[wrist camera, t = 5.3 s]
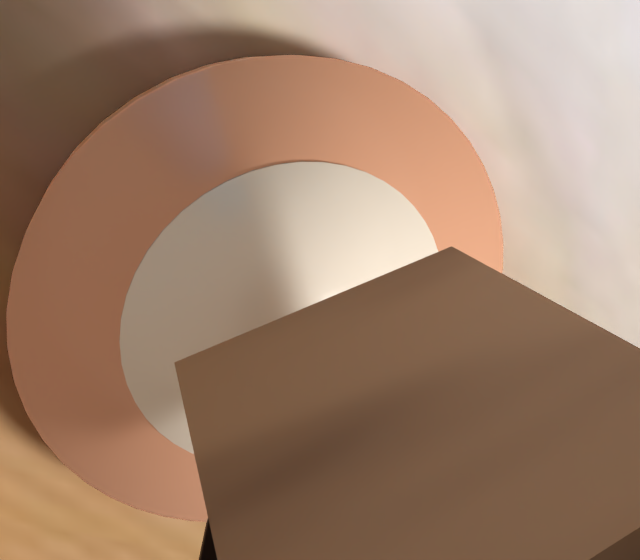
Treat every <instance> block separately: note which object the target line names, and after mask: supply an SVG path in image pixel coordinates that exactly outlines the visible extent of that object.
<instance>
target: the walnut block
mask: <svg viewBox="0 0 640 560" xmlns="http://www.w3.org/2000/svg"><path fill="white" fill-rule="evenodd" d="M174 364H175V369H176V373H177V378H178V382H179V387H180V391H181V396H182V401H183V405H184V410H185V414H186V419H187V423H188V428H189V432H190V437H191V442H192V446H193V451H194V455H195V460H196V464H197V469H198V474H199V478H200V483H201V487H202V492H203V496H204V501H205V505H206V510H207V515H208V519H209V524H210V528H211V533H212V537H213V542H214V547H215V551H216V556H217V560H640V348H638V347H636V346H634V345H632V344H630V343H629V342H627V341H625V340H623V339H621V338H619V337H618V336H616V335H614V334H612V333H610V332H608V331H607V330H605V329H603V328H601V327H599V326H597V325H596V324H594V323H592V322H590V321H588V320H586V319H585V318H583V317H581V316H579V315H577V314H575V313H573V312H572V311H570V310H568V309H566V308H564V307H562V306H561V305H559V304H557V303H555V302H553V301H551V300H550V299H548V298H546V297H544V296H542V295H540V294H539V293H537V292H535V291H533V290H531V289H529V288H528V287H526V286H524V285H522V284H520V283H518V282H517V281H515V280H513V279H511V278H509V277H507V276H505V275H504V274H502V273H500V272H498V271H496V270H494V269H493V268H491V267H489V266H487V265H485V264H483V263H482V262H480V261H478V260H476V259H474V258H472V257H471V256H469V255H467V254H465V253H463V252H461V251H460V250H458V249H456V248H454V247H452V246H451V247H449V248H446V249H444V250H441V251H439V252H437V253H434V254H432V255H429V256H427V257H425V258H422V259H420V260H418V261H415V262H413V263H410V264H408V265H406V266H403V267H401V268H398V269H396V270H394V271H391V272H389V273H387V274H384V275H382V276H379V277H377V278H375V279H372V280H370V281H367V282H365V283H363V284H360V285H358V286H355V287H353V288H351V289H348V290H346V291H344V292H341V293H339V294H336V295H334V296H332V297H329V298H327V299H324V300H322V301H320V302H317V303H315V304H313V305H310V306H308V307H305V308H303V309H301V310H298V311H296V312H293V313H291V314H289V315H286V316H284V317H282V318H279V319H277V320H274V321H272V322H270V323H267V324H265V325H262V326H260V327H258V328H255V329H253V330H250V331H248V332H246V333H243V334H241V335H239V336H236V337H234V338H231V339H229V340H227V341H224V342H222V343H219V344H217V345H215V346H212V347H210V348H208V349H205V350H203V351H200V352H198V353H196V354H193V355H191V356H188V357H186V358H184V359H181V360H179V361H176V362H174Z"/></svg>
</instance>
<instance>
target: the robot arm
mask: <svg viewBox="0 0 640 560" xmlns="http://www.w3.org/2000/svg"><path fill="white" fill-rule="evenodd" d="M199 560H217V556H216V551H215V547H214V542H213V537H212V533H211V528H210V524H209V519H207V523H206V528H205V532H204V537H203V542H202V547H201V552H200V556H199Z"/></svg>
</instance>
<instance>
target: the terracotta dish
mask: <svg viewBox="0 0 640 560" xmlns="http://www.w3.org/2000/svg"><path fill="white" fill-rule="evenodd" d="M451 246H452V247H454V248H456V249H458V250H460V251H461V252H463V253H465V254H467V255H469V256H471V257H472V258H474V259H476V260H478V261H480V262H482V263H483V264H485V265H487V266H489V267H491V268H493V269H494V270H496V271H498V272H500V273H502V270H503V237H502V228H501V219H500V213H499V209H498V205H497V201H496V197H495V193H494V190H493V187H492V185H491V182H490V180H489V177H488V175H487V172H486V170H485V167H484V165H483V163H482V162H481V160H480V158H479V156H478V155H477V153H476V151H475V150H474V148H473V146H472V144H471V143H470V141H469V140H468V139H467V137H466V136H465V135H464V134H463V132H462V131H461V130H460V129H459V128H458V126H457V125H456V124H455V123H454V121H453V120H452V119H451V118H450V117H449V116H448V115H447V114H446V113H444V112H443V111H442V110H441V109H440V108H439V107H438V106H437V105H436V104H434V103H433V102H432V101H431V100H430V99H429V98H427V97H426V96H424V95H423V94H421V93H420V92H418V91H416V90H415V89H413V88H412V87H410V86H409V85H407V84H406V83H404V82H402V81H400V80H398V79H396V78H394V77H391V76H389V75H387V74H384V73H382V72H380V71H378V70H375V69H373V68H370V67H367V66H363V65H359V64H355V63H351V62H347V61H343V60H340V59H334V58H324V57H314V56H304V55H274V56H256V57H242V58H237V59H232V60H227V61H222V62H217V63H213V64H208V65H204V66H202V67H199V68H196V69H193V70H191V71H188V72H185V73H182V74H180V75H177V76H174V77H171V78H169V79H167V80H165V81H163V82H162V83H160V84H158V85H156V86H154V87H152V88H150V89H149V90H147V91H145V92H143V93H141V94H139V95H137V96H136V97H134V98H133V99H131V100H130V101H129V102H127V103H126V104H125V105H123V106H122V107H121V108H119V109H118V110H117V111H115V112H114V113H113V114H111V115H110V116H108V117H107V118H106V119H104V120H103V121H102V122H101V123H100V124H99V125H98V126H97V127H96V128H95V129H94V130H93V131H92V132H91V133H90V134H89V135H88V136H87V137H86V138H85V139H84V140H83V141H82V142H81V143H80V144H79V145H78V146H77V147H76V148H75V149H74V150H73V152H72V153H71V155H70V156H69V157H68V159H67V160H66V161H65V163H64V164H63V165H62V167H61V168H60V170H59V171H58V172H57V174H56V175H55V176H54V178H53V179H52V181H51V182H50V184H49V186H48V188H47V190H46V192H45V194H44V196H43V198H42V200H41V202H40V203H39V205H38V207H37V209H36V211H35V213H34V215H33V217H32V219H31V221H30V224H29V226H28V228H27V230H26V232H25V235H24V238H23V241H22V244H21V247H20V250H19V253H18V256H17V259H16V262H15V265H14V268H13V271H12V277H11V283H10V290H9V297H8V303H7V310H6V316H7V349H8V354H9V359H10V364H11V369H12V374H13V380H14V383H15V386H16V388H17V391H18V393H19V396H20V398H21V401H22V404H23V406H24V409H25V411H26V413H27V415H28V417H29V418H30V420H31V422H32V423H33V425H34V427H35V428H36V430H37V432H38V433H39V435H40V437H41V438H42V440H43V441H44V442H45V443H46V444H47V446H48V447H49V448H50V449H51V450H52V451H53V453H54V454H55V455H56V456H57V457H58V458H59V460H60V461H61V462H62V463H63V464H64V465H66V466H67V467H68V468H69V469H70V470H71V471H73V472H74V473H75V474H76V475H77V476H79V477H80V478H81V479H82V480H83V481H85V482H86V483H87V484H89V485H91V486H92V487H94V488H96V489H97V490H99V491H101V492H102V493H104V494H105V495H107V496H109V497H110V498H113V499H115V500H117V501H120V502H122V503H124V504H127V505H129V506H131V507H134V508H136V509H139V510H143V511H146V512H150V513H153V514H157V515H160V516H164V517H170V518H176V519H182V520H189V521H205V522H207V519H208V515H207V510H206V505H205V501H204V496H203V492H202V487H201V483H200V478H199V474H198V469H197V464H196V460H195V455H194V451H193V446H192V442H191V437H190V432H189V428H188V423H187V419H186V414H185V410H184V405H183V401H182V396H181V391H180V387H179V382H178V378H177V373H176V369H175V364H174V362H176V361H179V360H181V359H184V358H186V357H188V356H191V355H193V354H196V353H198V352H200V351H203V350H205V349H208V348H210V347H212V346H215V345H217V344H219V343H222V342H224V341H227V340H229V339H231V338H234V337H236V336H239V335H241V334H243V333H246V332H248V331H250V330H253V329H255V328H258V327H260V326H262V325H265V324H267V323H270V322H272V321H274V320H277V319H279V318H282V317H284V316H286V315H289V314H291V313H293V312H296V311H298V310H301V309H303V308H305V307H308V306H310V305H313V304H315V303H317V302H320V301H322V300H324V299H327V298H329V297H332V296H334V295H336V294H339V293H341V292H344V291H346V290H348V289H351V288H353V287H355V286H358V285H360V284H363V283H365V282H367V281H370V280H372V279H375V278H377V277H379V276H382V275H384V274H387V273H389V272H391V271H394V270H396V269H398V268H401V267H403V266H406V265H408V264H410V263H413V262H415V261H418V260H420V259H422V258H425V257H427V256H429V255H432V254H434V253H437V252H439V251H441V250H444V249H446V248H449V247H451Z"/></svg>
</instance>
